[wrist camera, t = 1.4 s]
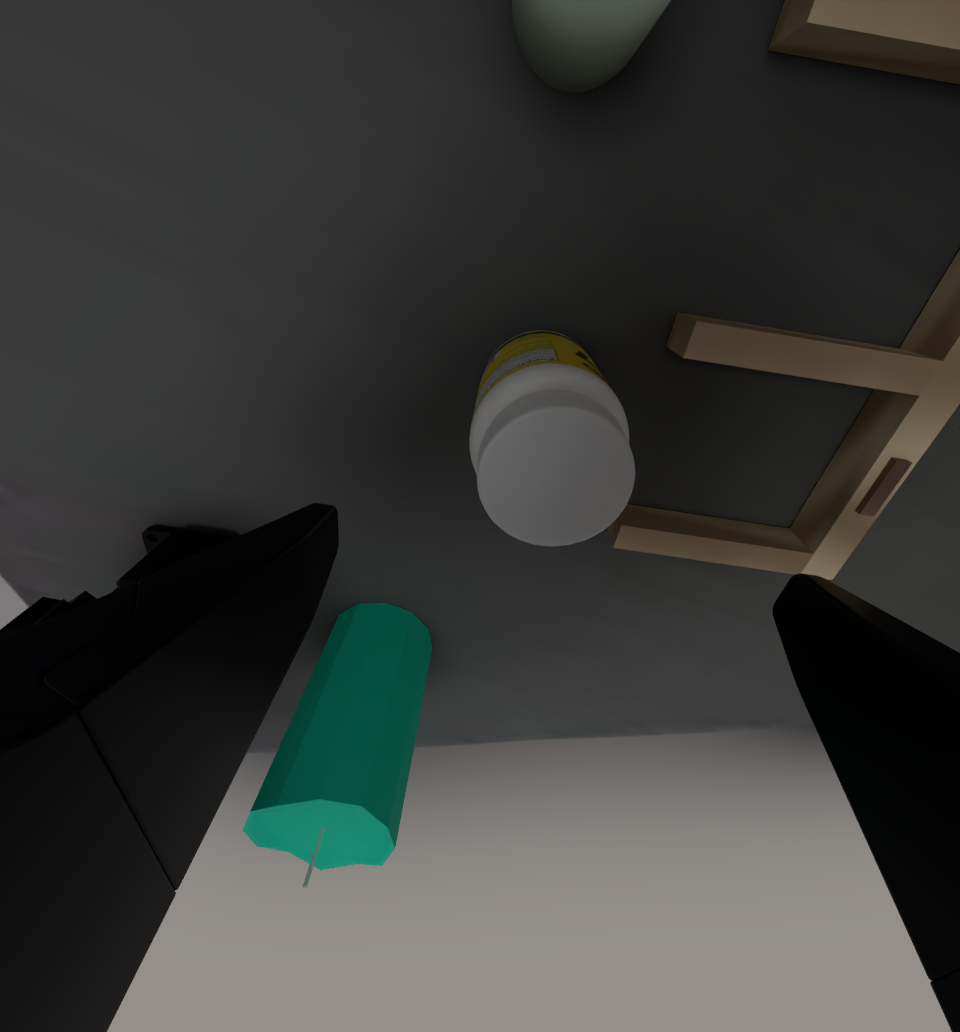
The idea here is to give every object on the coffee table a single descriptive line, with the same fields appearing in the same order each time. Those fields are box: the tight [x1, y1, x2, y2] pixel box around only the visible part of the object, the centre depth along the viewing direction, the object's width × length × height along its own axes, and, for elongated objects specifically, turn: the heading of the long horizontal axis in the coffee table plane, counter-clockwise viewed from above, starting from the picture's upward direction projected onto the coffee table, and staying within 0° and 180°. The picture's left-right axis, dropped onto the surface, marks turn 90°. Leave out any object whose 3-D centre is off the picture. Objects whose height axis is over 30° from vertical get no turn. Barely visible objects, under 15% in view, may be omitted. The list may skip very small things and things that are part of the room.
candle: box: [243, 603, 432, 888], centre depth 22 cm, size 6×6×12 cm
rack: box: [607, 0, 960, 580], centre depth 16 cm, size 18×10×2 cm, turn 172°
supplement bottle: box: [469, 330, 635, 546], centre depth 15 cm, size 5×5×8 cm
